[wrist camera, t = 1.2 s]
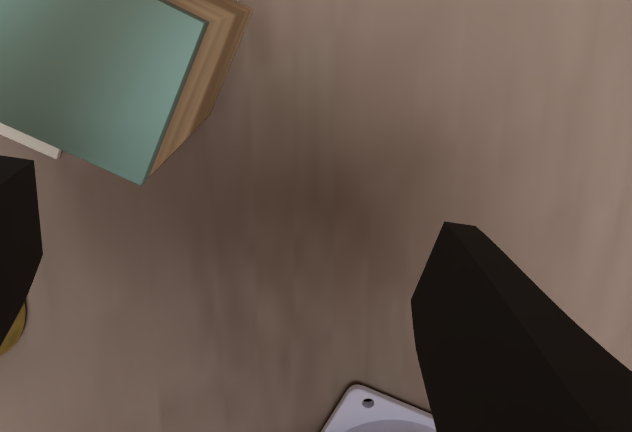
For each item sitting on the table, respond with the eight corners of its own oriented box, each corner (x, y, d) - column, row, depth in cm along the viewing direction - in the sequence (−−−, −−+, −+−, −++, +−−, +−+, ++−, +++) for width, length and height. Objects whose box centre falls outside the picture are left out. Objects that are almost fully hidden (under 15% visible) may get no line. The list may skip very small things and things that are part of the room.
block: (253, 10, 19) (203, 23, 12) (209, 114, 21) (141, 185, 13) (142, -47, 19) (17, -70, 11) (105, 65, 20) (-28, 110, 13)
